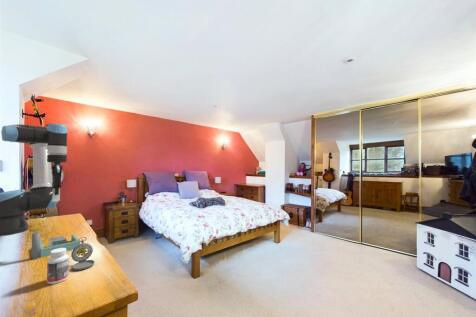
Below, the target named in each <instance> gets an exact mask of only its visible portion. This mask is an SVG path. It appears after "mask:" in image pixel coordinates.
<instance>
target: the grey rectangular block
mask: <svg viewBox="0 0 476 317" xmlns="http://www.w3.org/2000/svg"><path fill="white" fill-rule="evenodd" d="M48 239H49V241H48V242H49V243H48V244H49V245H48V247H51V246H56V245H60V244H65V243H68V238H66V237H65V236H64V235H62V236H61V235H60V236H55V237H51V238H48Z"/></svg>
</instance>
